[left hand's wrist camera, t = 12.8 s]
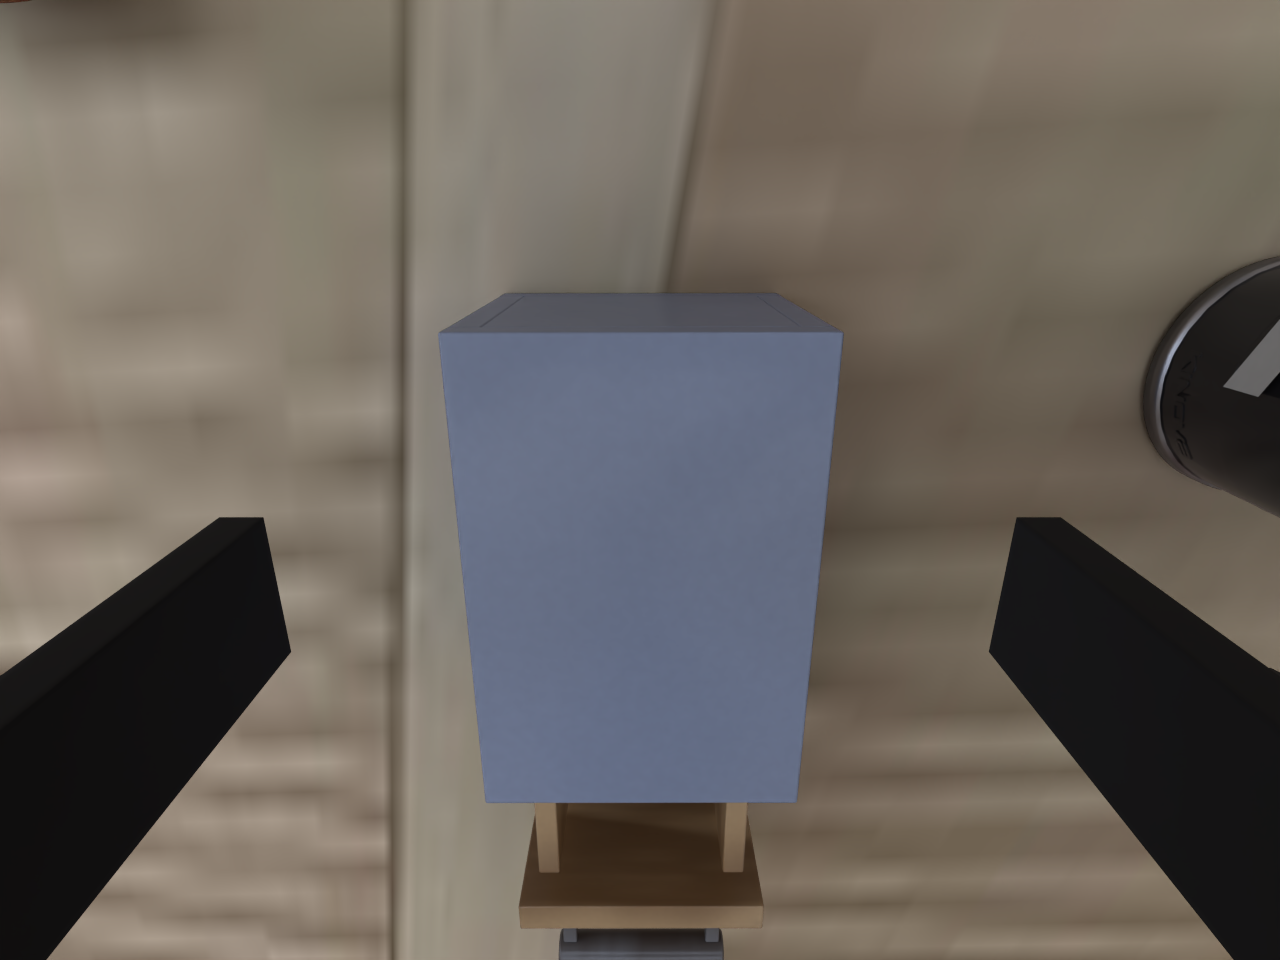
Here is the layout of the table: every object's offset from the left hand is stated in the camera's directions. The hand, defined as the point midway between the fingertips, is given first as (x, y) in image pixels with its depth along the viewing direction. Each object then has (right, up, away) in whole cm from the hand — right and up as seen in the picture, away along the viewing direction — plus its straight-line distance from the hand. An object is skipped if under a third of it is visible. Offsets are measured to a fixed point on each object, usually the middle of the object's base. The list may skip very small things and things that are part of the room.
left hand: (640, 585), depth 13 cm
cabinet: (0, +2, +18) cm, 18 cm away
